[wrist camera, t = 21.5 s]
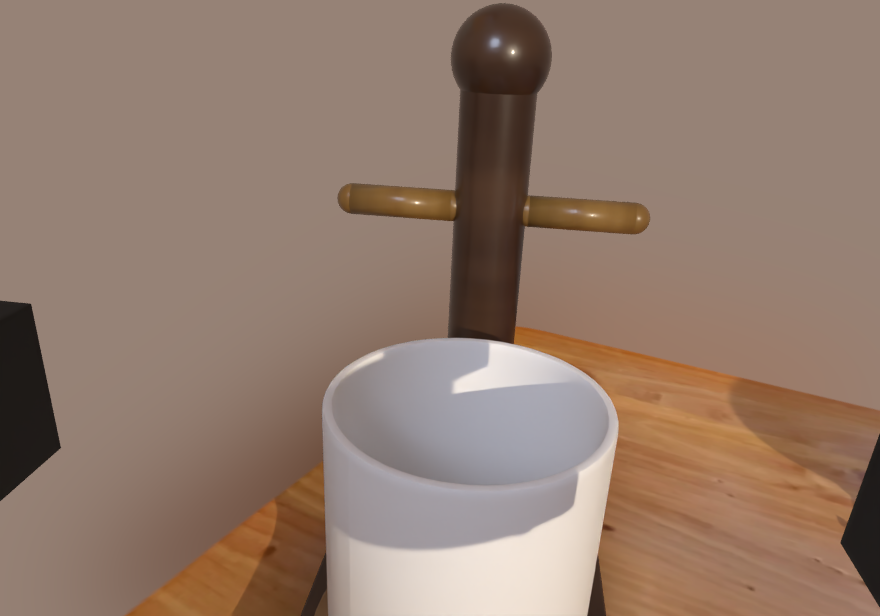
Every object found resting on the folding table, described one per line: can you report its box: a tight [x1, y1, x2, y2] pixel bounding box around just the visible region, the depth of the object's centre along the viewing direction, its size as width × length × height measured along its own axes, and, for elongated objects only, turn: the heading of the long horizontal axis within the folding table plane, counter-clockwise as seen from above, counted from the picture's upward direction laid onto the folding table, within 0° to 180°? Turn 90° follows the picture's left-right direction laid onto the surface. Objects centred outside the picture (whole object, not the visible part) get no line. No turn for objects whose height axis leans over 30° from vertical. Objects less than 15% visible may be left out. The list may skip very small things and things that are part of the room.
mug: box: [322, 338, 618, 616], centre depth 23 cm, size 9×12×11 cm
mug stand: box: [301, 3, 650, 616], centre depth 23 cm, size 14×12×24 cm
